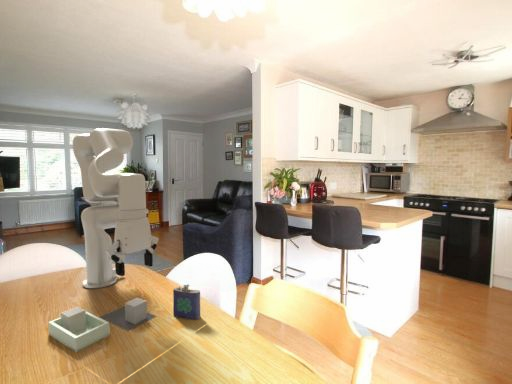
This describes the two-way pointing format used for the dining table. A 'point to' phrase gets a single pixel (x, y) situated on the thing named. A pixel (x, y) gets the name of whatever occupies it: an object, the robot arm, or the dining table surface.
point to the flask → (186, 303)
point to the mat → (119, 319)
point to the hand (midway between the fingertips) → (135, 270)
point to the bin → (84, 338)
